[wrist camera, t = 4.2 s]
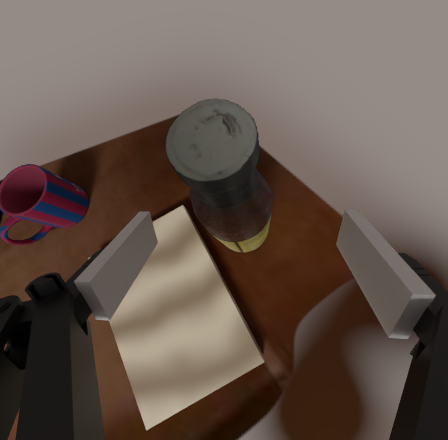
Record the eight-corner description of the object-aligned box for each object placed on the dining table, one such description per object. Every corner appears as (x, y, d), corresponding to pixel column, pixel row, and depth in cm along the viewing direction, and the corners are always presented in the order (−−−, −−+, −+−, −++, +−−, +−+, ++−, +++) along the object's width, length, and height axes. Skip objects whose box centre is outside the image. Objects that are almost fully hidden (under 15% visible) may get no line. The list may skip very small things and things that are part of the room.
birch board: (98, 259, 29) (87, 258, 27) (187, 209, 29) (182, 205, 28) (154, 417, 24) (146, 430, 22) (263, 354, 24) (264, 362, 22)
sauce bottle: (267, 207, 28) (301, 67, 9) (267, 255, 27) (307, 207, 8) (218, 206, 29) (155, 77, 10) (215, 252, 28) (135, 205, 8)
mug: (97, 197, 32) (58, 177, 25) (57, 256, 30) (3, 251, 24) (66, 179, 33) (21, 155, 27) (26, 234, 32) (-33, 224, 25)
